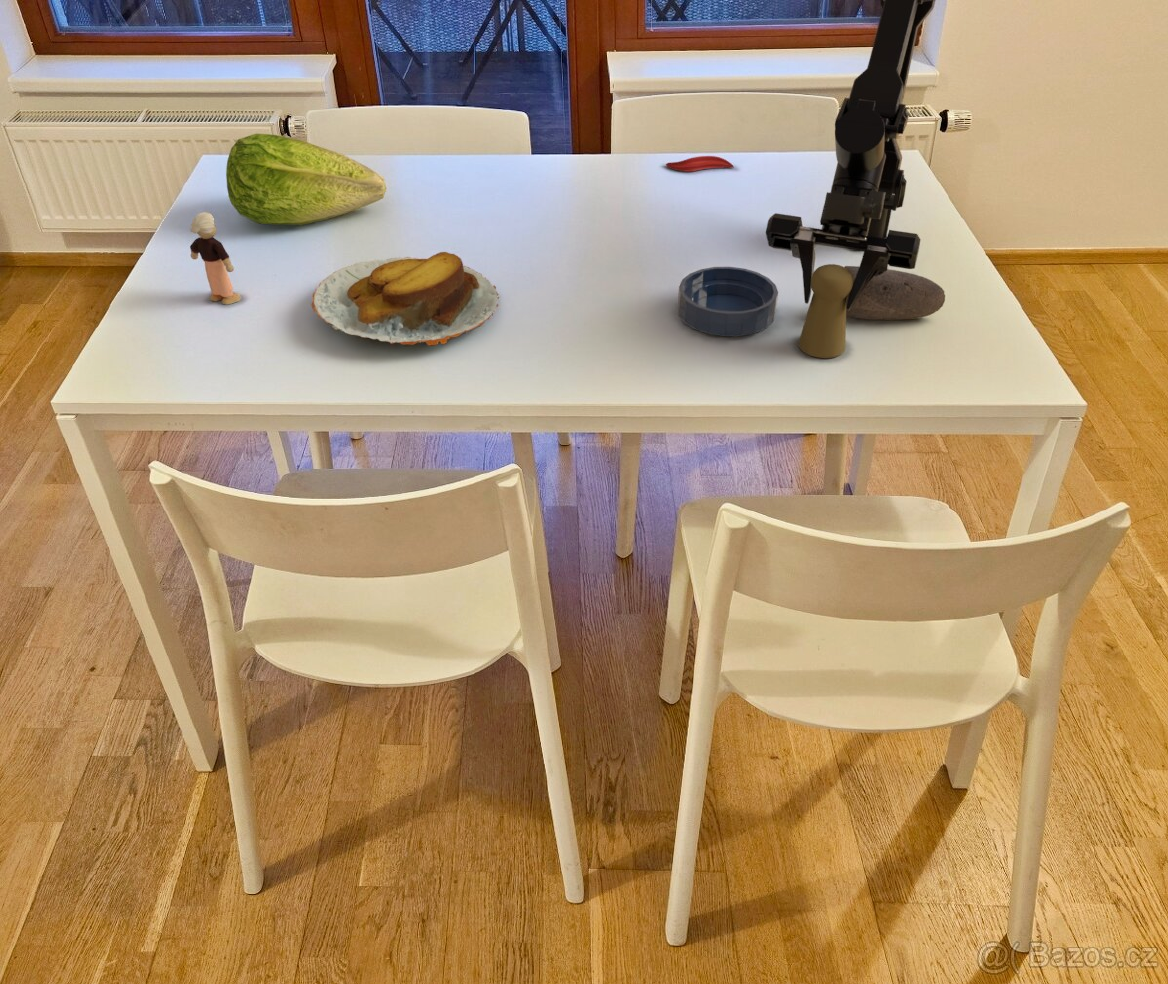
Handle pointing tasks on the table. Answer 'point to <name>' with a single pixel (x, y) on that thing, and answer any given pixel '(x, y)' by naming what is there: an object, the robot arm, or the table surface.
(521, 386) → the table surface
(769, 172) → the table surface
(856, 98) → the robot arm
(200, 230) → the grandmother figurine
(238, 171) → the lettuce
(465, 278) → the food on plate
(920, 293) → the perforated stone tool
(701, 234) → the table surface
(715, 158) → the cayenne pepper
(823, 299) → the yellow pawn piece
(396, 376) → the table surface
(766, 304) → the bowl
